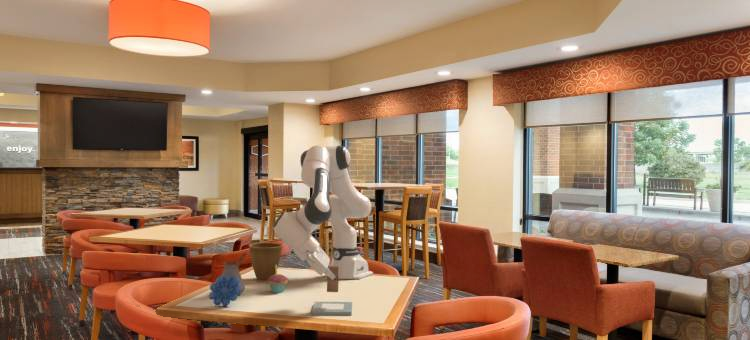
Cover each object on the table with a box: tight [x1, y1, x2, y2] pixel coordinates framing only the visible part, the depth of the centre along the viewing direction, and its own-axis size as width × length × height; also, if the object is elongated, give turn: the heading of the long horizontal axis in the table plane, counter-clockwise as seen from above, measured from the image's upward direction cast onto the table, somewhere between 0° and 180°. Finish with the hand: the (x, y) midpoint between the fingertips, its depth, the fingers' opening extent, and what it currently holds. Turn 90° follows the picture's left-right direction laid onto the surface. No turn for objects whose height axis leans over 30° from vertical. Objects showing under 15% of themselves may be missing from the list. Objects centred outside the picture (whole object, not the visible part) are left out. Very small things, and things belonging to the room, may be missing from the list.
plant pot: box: [248, 242, 283, 282], centre depth 249 cm, size 15×15×16 cm
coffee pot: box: [220, 251, 250, 296], centre depth 224 cm, size 21×12×15 cm, turn 170°
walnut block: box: [326, 264, 340, 293], centre depth 198 cm, size 4×4×9 cm
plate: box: [311, 301, 353, 316], centre depth 198 cm, size 14×14×1 cm
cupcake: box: [266, 265, 289, 294], centre depth 226 cm, size 9×8×12 cm
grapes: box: [208, 274, 241, 307], centre depth 202 cm, size 12×7×12 cm, turn 98°
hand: (334, 276), depth 198 cm, fingers closed on walnut block, 4 cm apart
